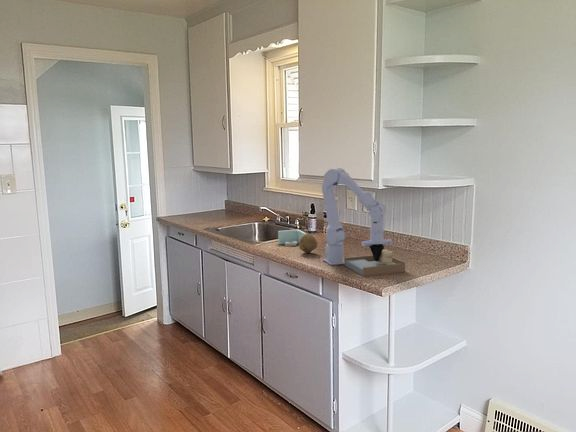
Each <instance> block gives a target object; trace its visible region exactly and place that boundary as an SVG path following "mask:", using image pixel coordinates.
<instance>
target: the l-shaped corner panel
mask: <svg viewBox="0 0 576 432" xmlns="http://www.w3.org/2000/svg"><path fill="white" fill-rule="evenodd" d="M305 234H307V232H304V231H302V230H300V229H290V230H278V231H277V235H278V236H277V241H278V243H277V244H278V245H284V246H286V247H296V246H298V245H299V244H300V240H301V237H302V236H303V235H305Z"/></svg>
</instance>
